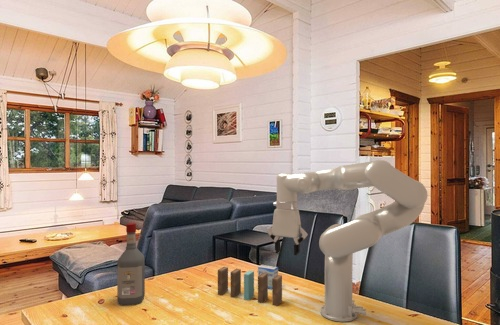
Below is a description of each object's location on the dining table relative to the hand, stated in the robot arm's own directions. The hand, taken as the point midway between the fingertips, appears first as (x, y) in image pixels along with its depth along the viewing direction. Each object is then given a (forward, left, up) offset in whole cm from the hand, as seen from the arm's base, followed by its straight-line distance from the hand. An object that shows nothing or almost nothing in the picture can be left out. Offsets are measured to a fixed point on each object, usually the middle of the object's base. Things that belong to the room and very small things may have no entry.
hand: (287, 252), depth 129 cm
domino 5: (+4, 0, -20) cm, 20 cm away
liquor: (+56, +23, -20) cm, 64 cm away
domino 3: (+16, 0, -20) cm, 25 cm away
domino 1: (+28, 0, -20) cm, 34 cm away
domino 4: (+10, 0, -20) cm, 22 cm away
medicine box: (+14, -14, -20) cm, 28 cm away
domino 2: (+22, 0, -20) cm, 30 cm away
